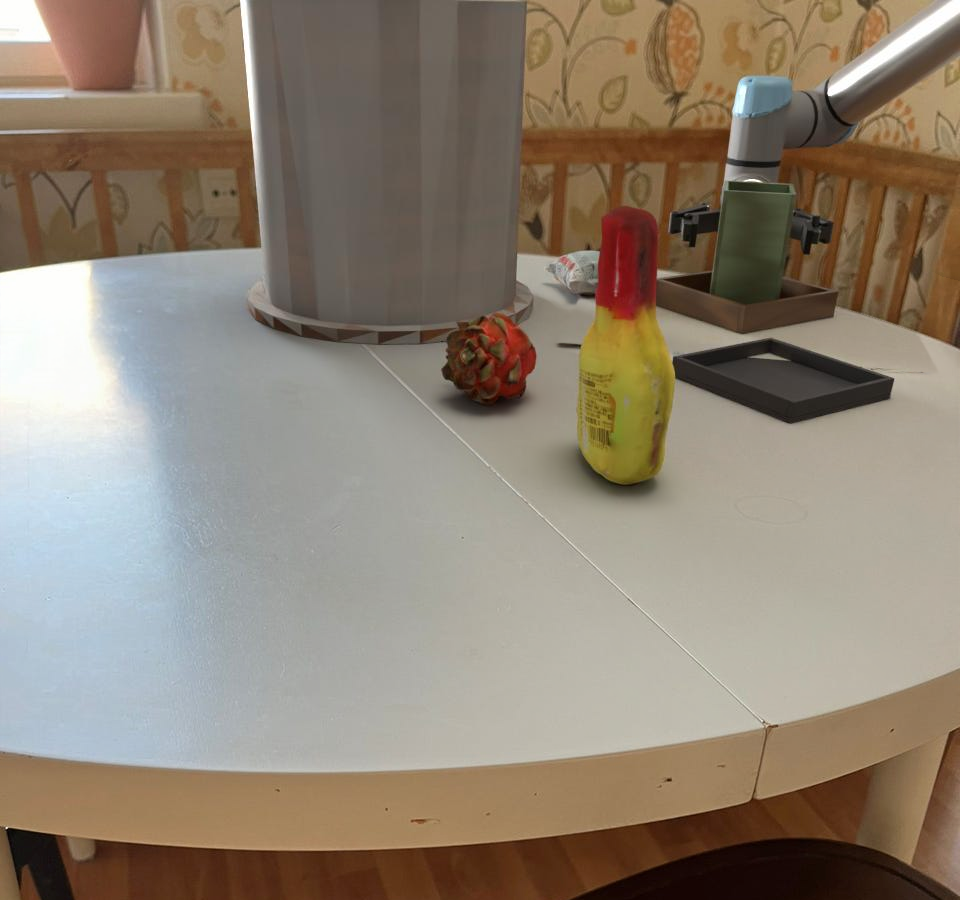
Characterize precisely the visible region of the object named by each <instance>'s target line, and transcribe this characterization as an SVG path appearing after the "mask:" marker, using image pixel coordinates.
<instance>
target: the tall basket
mask: <svg viewBox="0 0 960 900" xmlns="http://www.w3.org/2000/svg"><path fill="white" fill-rule="evenodd" d="M723 184H724V187H723V186H722V187H723V195H722V202H721V201H720V205H721V210H720V217H719V225H718V232H716V233H717V234H716V241H715V248H714V256H713V261H712V262H713V263H712V277H711V285H710V292H709V294H711V295H715V296H718V297H721V298H724V299H728V300H731V301H734V302H737V303H741V304H744V305H748V304H754V303H760V302H766V301H772V300H778V299H779V296H780V290H781V285H782V279H783V277H784V273H785V266H786V260H787V254H788V248H789V244H790V243H789V242H790V238H789V237H790V231H791V225H792V219H793V213H794V209H795V207H796V201H797V192H796V189H795V186H794V184H793V183H782V182H777V183H765V182H745V181H726V180H725V181H724V180H723Z"/></svg>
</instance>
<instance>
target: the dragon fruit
mask: <svg viewBox="0 0 960 900" xmlns="http://www.w3.org/2000/svg"><path fill="white" fill-rule="evenodd" d="M445 343H446V344H447V348H445V352H446V356H445V359H446V360H447V362H445V365H443V366H442V367H441V369H440V371H441V374H442V378H443V379H444V380H445V381H450V382H452V383H453V385H454V387H455V388H456V389H457V390H459V391H461V392H464V393H465V394H467V395H468V396H469V397H470V399H471V400H472V401H474V402H476V403H480V404H482V405H484V406H491V405H492V404H494V403H496V401H498V398H499V397H505V398H506V399H508V400H511V399H514V398H516V399H518V400H519V399H521V398H522V397H523V396H524V395H525V393H526V388H527V377H528V376H529V375H530V374H532V373H533V371H534V370H535V369H536V364H537V350H536V347H535V346H534V344H533V343H532V342H531V340H530V337H529V336H528V334H527V333H526V331H524V330H523V329H521V327H520V326H519V325H518V324H517V325H516V324H515V323H514V322H513V321H512V319H511V318H510V317H508V316H506V315H504V314H502V313H494V314H492V315H491V316H490V317H489V318H487V317H485V316H481V317H479V318H476V319H474V320H473V321H471V322H469V323H467V325H466V326H465V330H458V331H454V332H451V333H450V334H449V335H448V336H447V338H446V341H445Z"/></svg>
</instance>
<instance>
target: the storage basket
mask: <svg viewBox="0 0 960 900" xmlns="http://www.w3.org/2000/svg"><path fill="white" fill-rule="evenodd" d="M527 11H528V1H527V0H240V12H241V22H242V23H241V24H242V35H243V46H244V58H245V59H244V60H245V71H246V82H247V92H248V95H247V96H248V106H249V117H250V118H249V119H250V130H251V140H252V141H251V142H252V152H253V153H252V154H253V162H254V163H253V165H254V175H255V176H254V177H255V188H256V200H257V211H258V223H259V224H258V225H259V236H260V247H261V258H262V272H263V279H260V280H259V281H258V282H256V283H255V284H253V285H252V286H251V287H249V288H248V292H247V295H246V303H247V304H246V305H247V311H248V312H249V313H250V315H251V316H252V317H253V318H254V320H256V321H258V322H260V323H261V324H264V325H266V326H267V327H270V328H272V329H274V330H277V331H281V332H285V333H289V334H292V335H295V336H300V337H305V338H311V339H317V340H318V339H319V340H325V341H330V342H337V343H353V344H354V343H355V344H368V345H369V344H370V345H421V344H422V345H423V344H432V343H442V342H441V341H444V342H446V338H447V336H448V335H449V334H450V333H451V332H454V331H458V330H465V326H466V325H467V323H469V322H471V321H473V320H474V319H476V318H479V317H481V316H485V317H487V318H489V317H490V316H491V315H492V314H494V313H502V314H504V315H506V316H508V317H510V318H511V319H512V321H513V322H514V323H515V324H516V325H517V326H518V325H519V324H521V323H522V322H523V321H525V320H527V319H528V318H530V316H531V313H532V311H533V308H534V294H533V293H532V290H531V289H530V288H529V287H528V285H526V284H524V283H522V282H520V281H519V280H517V270H518V246H519V245H518V244H519V223H520V222H519V221H520V220H519V219H520V197H521V195H520V193H521V167H522V141H523V118H524V117H523V116H524V93H525V92H524V90H525V65H526V42H527V41H526V40H527V39H526V38H527V15H528V14H527Z"/></svg>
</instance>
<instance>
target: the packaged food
mask: <svg viewBox="0 0 960 900" xmlns="http://www.w3.org/2000/svg"><path fill="white" fill-rule="evenodd" d="M599 254H600V250H580V251H575V252H571V253H567V254H565V255H561V256H560V257H558V258H557V259H555V261H552V262H549V263H548V264H547V265H546V266H545V267H544V270H545V271H547V272H549V273H551V274H552V275H553V278H554V279H555V280H556V281H557V282H558V283H560V284H561V285H563V286H565V287H566V288H567V289H568V291H570V292H572V293H573V294H576V295H578V296H579V295H581V296H595V294H596V289H597V284H598V260H599Z"/></svg>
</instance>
